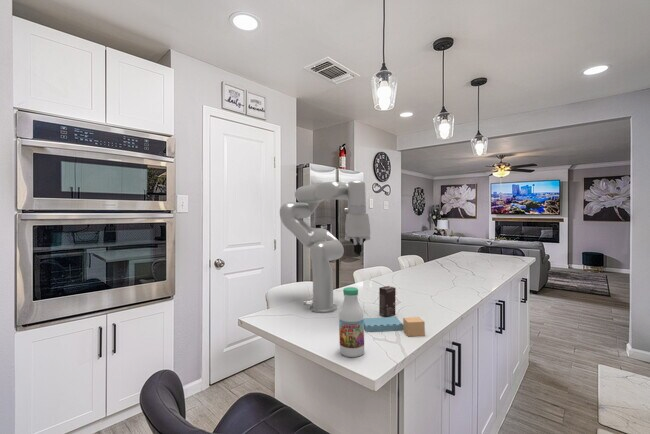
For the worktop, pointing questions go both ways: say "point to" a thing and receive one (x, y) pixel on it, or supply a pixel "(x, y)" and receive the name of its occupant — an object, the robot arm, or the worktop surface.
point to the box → (387, 301)
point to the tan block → (414, 326)
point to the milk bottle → (351, 325)
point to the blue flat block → (382, 324)
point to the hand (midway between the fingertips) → (357, 254)
